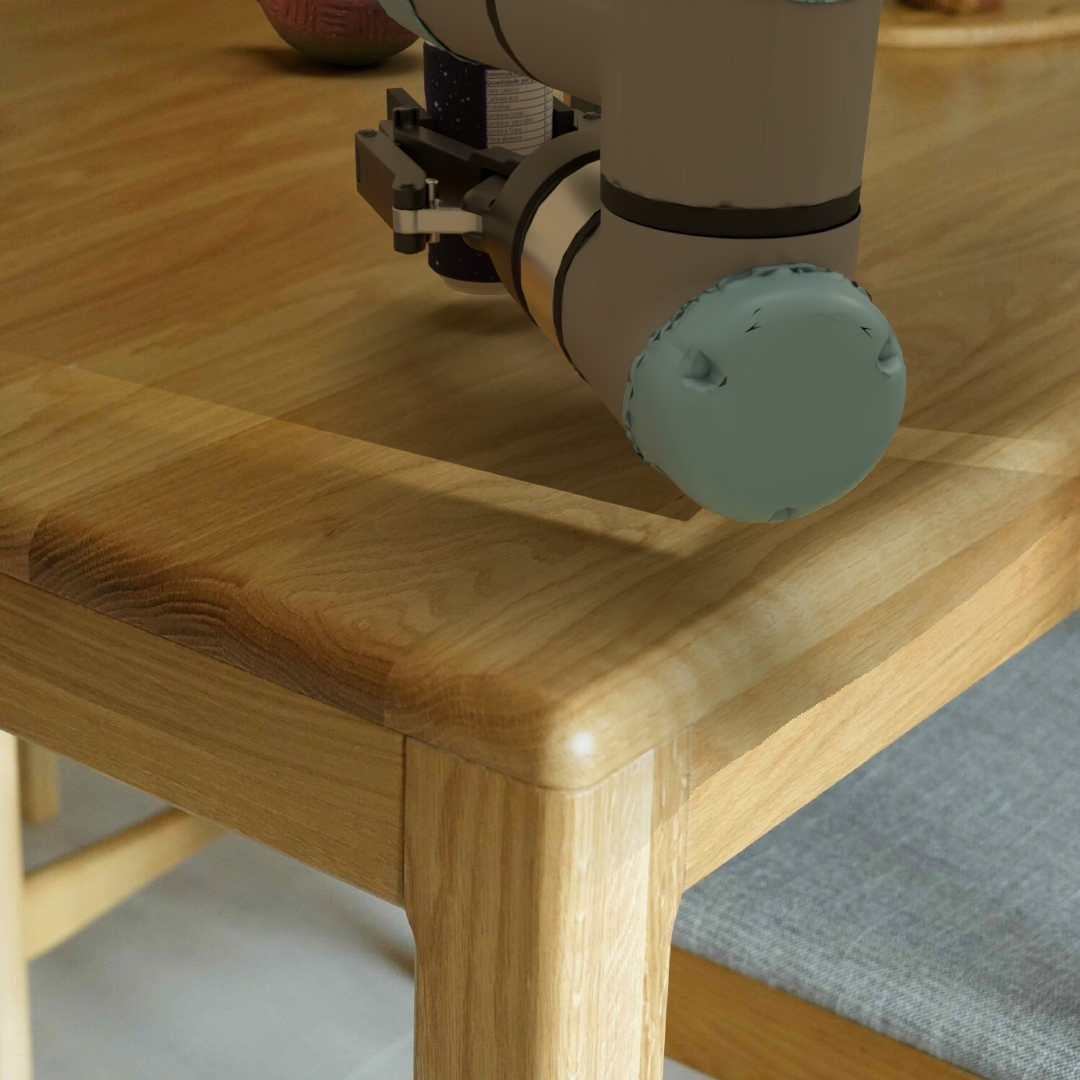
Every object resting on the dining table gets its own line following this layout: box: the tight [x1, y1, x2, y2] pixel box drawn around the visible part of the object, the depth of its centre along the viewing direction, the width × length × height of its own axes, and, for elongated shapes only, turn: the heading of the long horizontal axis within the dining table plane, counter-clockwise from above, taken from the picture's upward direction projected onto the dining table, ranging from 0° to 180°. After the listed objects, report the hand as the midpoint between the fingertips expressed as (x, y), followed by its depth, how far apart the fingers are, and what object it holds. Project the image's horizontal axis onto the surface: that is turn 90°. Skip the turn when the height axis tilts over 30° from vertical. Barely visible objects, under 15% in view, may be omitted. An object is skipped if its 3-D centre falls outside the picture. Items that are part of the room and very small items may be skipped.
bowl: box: [255, 0, 421, 67], centre depth 128 cm, size 16×13×8 cm
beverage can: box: [422, 39, 554, 296], centre depth 74 cm, size 6×6×12 cm
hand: (461, 113), depth 78 cm, fingers closed on beverage can, 6 cm apart
